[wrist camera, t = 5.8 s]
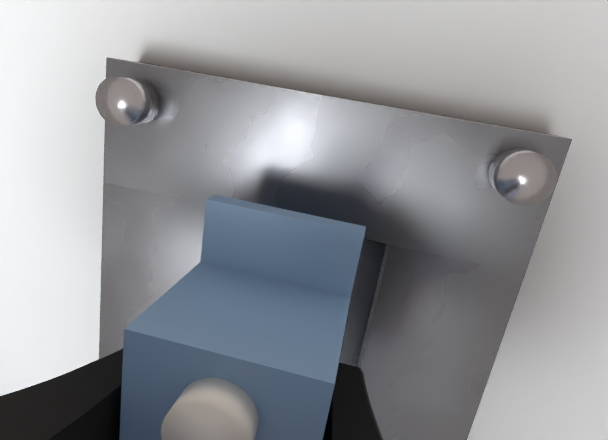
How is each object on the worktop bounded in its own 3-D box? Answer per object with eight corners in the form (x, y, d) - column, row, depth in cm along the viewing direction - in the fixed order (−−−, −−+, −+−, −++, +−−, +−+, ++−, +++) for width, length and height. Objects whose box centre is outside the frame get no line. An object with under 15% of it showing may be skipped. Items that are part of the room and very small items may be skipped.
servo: (312, 469, 13) (262, 713, 8) (206, 438, 14) (93, 650, 8) (368, 209, 11) (350, 316, 6) (236, 182, 11) (102, 256, 6)
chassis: (421, 518, 16) (427, 592, 13) (120, 428, 17) (78, 481, 15) (549, 134, 11) (591, 143, 9) (137, 62, 13) (81, 54, 11)
